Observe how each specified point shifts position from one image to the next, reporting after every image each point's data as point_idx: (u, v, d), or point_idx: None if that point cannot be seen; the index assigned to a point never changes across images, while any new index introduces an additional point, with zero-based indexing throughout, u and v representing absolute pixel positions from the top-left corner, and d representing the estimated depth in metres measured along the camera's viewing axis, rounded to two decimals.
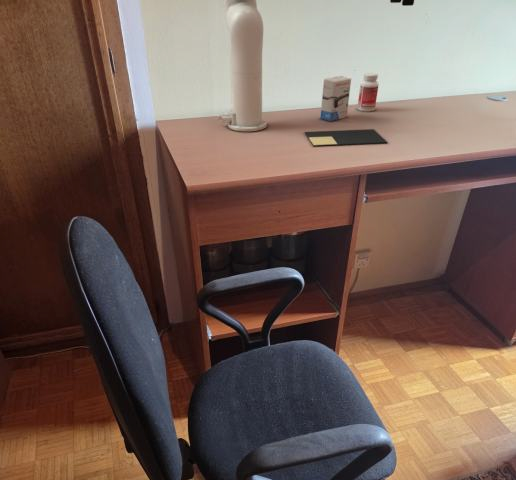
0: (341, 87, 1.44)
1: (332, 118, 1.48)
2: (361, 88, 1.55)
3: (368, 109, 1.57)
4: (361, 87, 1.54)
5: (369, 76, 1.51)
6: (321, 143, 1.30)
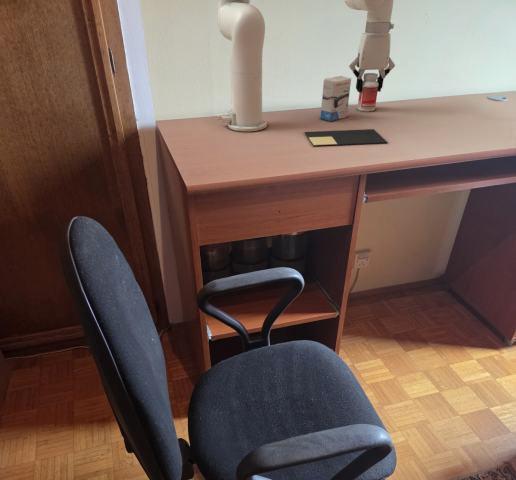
0: (341, 87, 1.44)
1: (332, 118, 1.48)
2: None
3: (368, 109, 1.57)
4: None
5: (369, 76, 1.51)
6: (321, 143, 1.30)
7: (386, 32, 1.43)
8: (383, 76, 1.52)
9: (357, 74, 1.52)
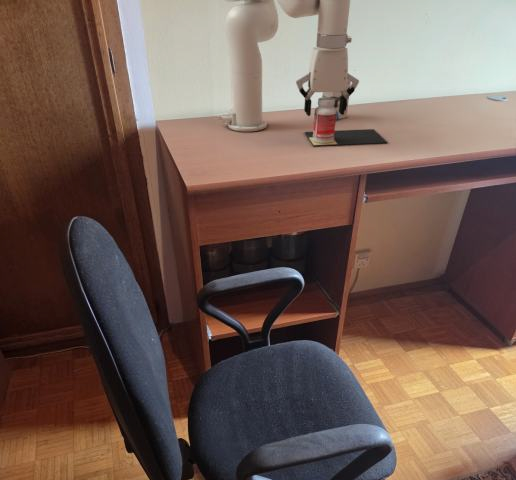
0: None
1: None
2: (315, 116, 1.27)
3: (325, 141, 1.29)
4: (315, 114, 1.27)
5: (324, 102, 1.24)
6: (321, 143, 1.30)
7: (341, 47, 1.15)
8: (346, 96, 1.24)
9: (304, 94, 1.23)
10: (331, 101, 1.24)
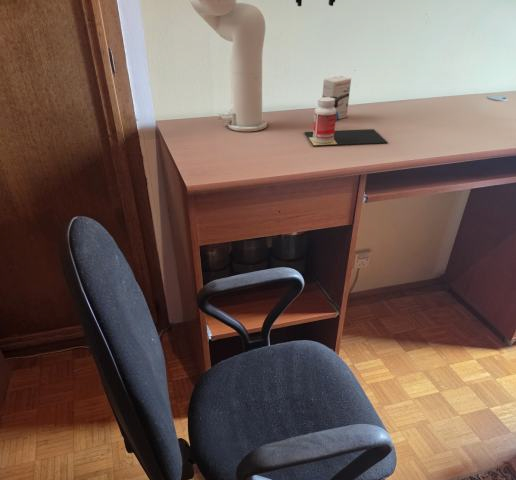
0: (341, 87, 1.44)
1: None
2: (315, 116, 1.27)
3: (325, 141, 1.29)
4: (315, 114, 1.27)
5: (324, 102, 1.24)
6: (321, 143, 1.30)
7: None
8: None
9: None
10: (331, 101, 1.24)
